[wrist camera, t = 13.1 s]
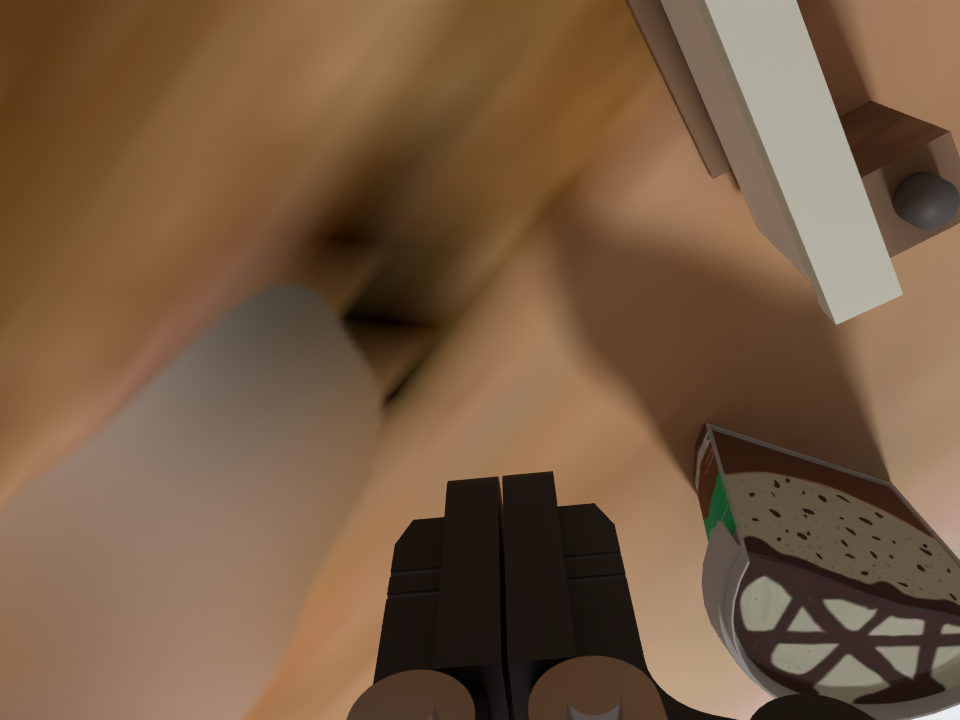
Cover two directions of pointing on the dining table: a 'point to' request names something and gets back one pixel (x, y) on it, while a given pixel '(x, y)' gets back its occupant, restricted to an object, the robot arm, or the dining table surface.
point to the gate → (787, 145)
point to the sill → (680, 82)
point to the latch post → (905, 173)
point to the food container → (826, 580)
